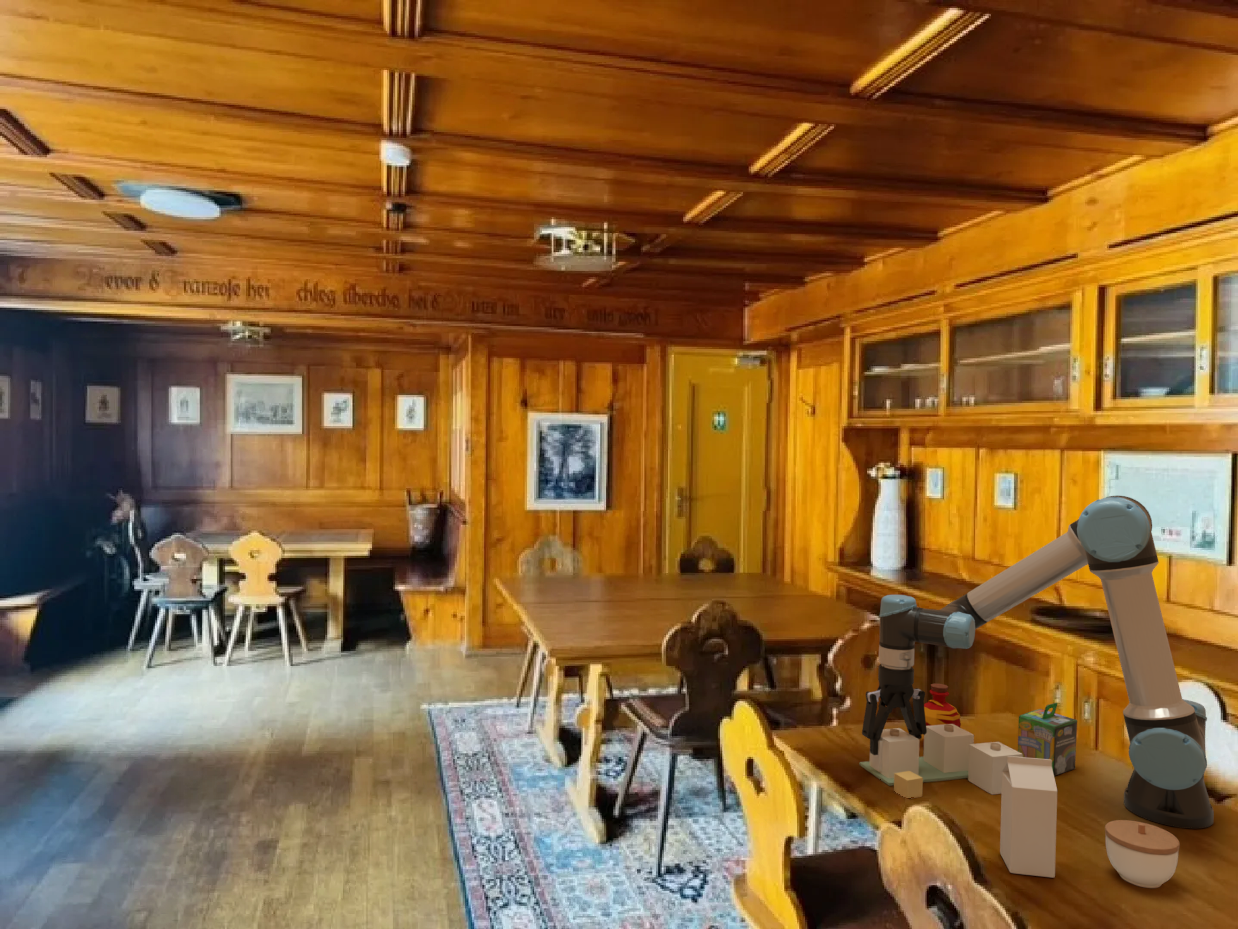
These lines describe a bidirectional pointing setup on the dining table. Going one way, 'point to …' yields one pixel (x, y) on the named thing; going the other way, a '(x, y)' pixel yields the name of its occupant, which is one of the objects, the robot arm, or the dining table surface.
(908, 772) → the tan cube
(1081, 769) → the dining table surface
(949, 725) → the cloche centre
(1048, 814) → the milk carton
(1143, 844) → the lidded jar
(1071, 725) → the chalk box
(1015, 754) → the cloche right
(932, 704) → the potion bottle
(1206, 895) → the dining table surface
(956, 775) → the felt mat
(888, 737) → the cloche left
